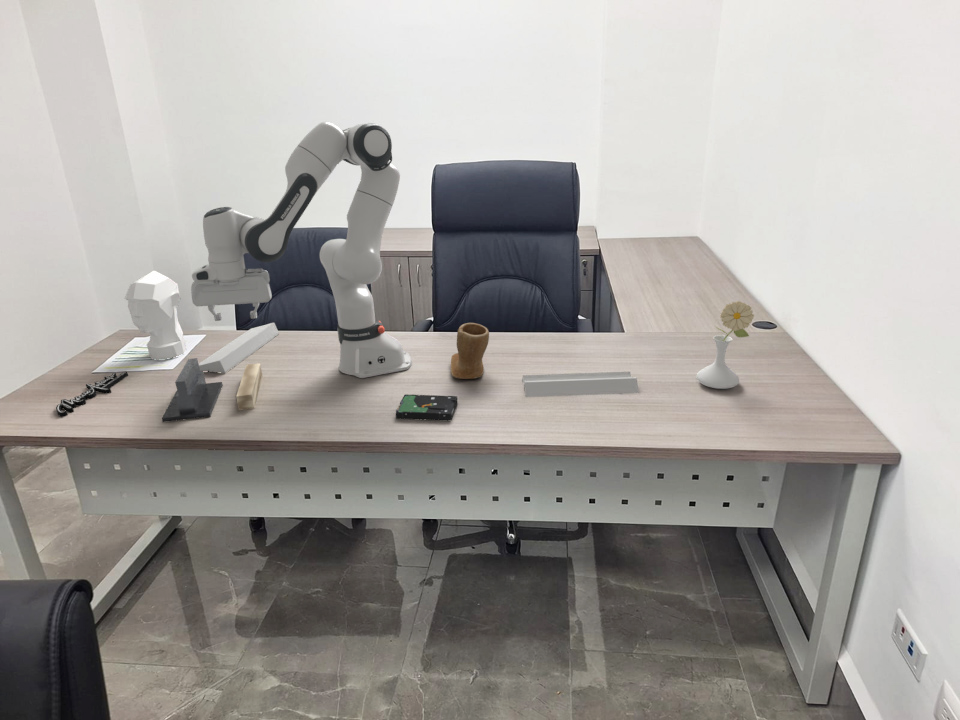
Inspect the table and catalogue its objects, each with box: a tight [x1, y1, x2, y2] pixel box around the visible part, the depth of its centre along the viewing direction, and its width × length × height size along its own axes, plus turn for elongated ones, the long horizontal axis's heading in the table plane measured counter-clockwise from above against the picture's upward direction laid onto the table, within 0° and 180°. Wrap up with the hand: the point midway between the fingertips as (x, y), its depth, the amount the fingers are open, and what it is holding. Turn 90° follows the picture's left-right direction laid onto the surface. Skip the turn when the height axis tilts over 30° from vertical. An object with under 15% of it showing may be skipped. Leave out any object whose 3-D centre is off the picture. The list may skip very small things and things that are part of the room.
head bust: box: [124, 270, 187, 361], centre depth 205 cm, size 16×19×28 cm
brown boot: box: [450, 322, 490, 380], centre depth 188 cm, size 15×12×15 cm
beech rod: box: [235, 363, 263, 411], centre depth 182 cm, size 4×22×4 cm, turn 12°
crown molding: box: [522, 371, 639, 398], centre depth 179 cm, size 31×12×4 cm, turn 91°
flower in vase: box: [695, 300, 755, 390], centre depth 172 cm, size 13×11×25 cm
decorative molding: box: [198, 322, 280, 374], centre depth 211 cm, size 34×5×10 cm
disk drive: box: [395, 394, 458, 422], centre depth 168 cm, size 10×3×15 cm
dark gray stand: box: [161, 357, 224, 423], centre depth 175 cm, size 12×20×10 cm, turn 12°
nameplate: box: [55, 371, 129, 418], centre depth 184 cm, size 27×2×10 cm
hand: (236, 319), depth 174 cm, fingers open, 8 cm apart
